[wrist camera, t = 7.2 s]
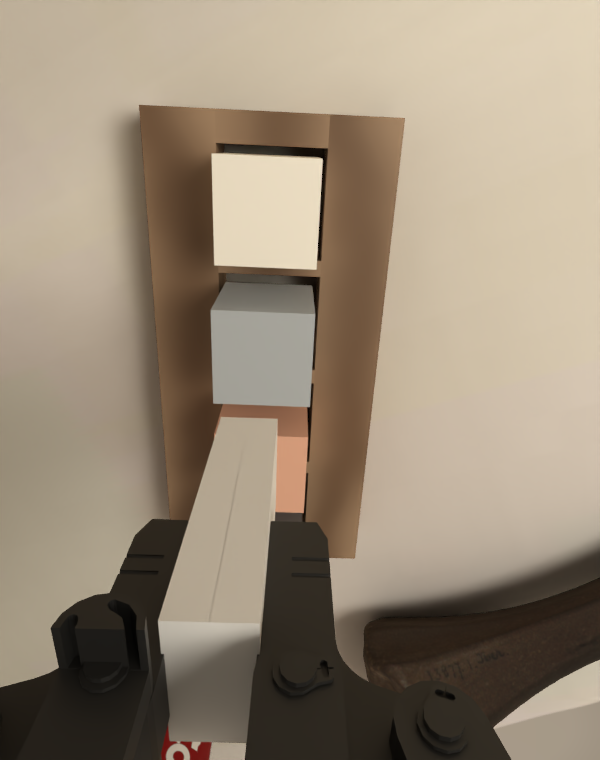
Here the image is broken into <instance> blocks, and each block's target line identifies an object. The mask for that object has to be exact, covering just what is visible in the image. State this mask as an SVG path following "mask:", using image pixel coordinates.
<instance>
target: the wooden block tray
mask: <svg viewBox="0 0 600 760" xmlns="http://www.w3.org/2000/svg"><path fill="white" fill-rule="evenodd" d="M139 111H140V124H141V137H142V151H143V164H144V178H145V191H146V205H147V218H148V231H149V245H150V258H151V272H152V285H153V298H154V312H155V325H156V339H157V352H158V365H159V379H160V392H161V406H162V419H163V432H164V446H165V459H166V473H167V486H168V499H169V513H170V520H189V519H190V516H191V512H192V509H193V506H194V503H195V499H196V496H197V493H198V490H199V487H200V483H201V480H202V477H203V474H204V470H205V467H206V464H207V461H208V457H209V454H210V451H211V448H212V445H213V441H214V433H215V429H216V426H217V423H218V419H219V416H220V412H221V409H222V405H223V404H213V377H212V342H211V308H212V306H213V305H214V303H215V301H216V299H217V297H218V295H219V294H220V292H221V290H222V288H223V286H224V284H225V282H226V273H240V274H263V275H287V276H310V277H317V294H316V311H315V328H314V346H313V362H312V380H311V397H310V414H309V431H308V448H307V465H306V482H305V500H304V513H302V522H317V523H318V525H319V526H320V528H321V529H322V531H323V532H324V534H325V535H326V537H327V538H328V549H329V558H355V551H356V543H357V534H358V525H359V516H360V508H361V499H362V490H363V481H364V473H365V464H366V455H367V446H368V437H369V429H370V420H371V411H372V402H373V394H374V385H375V376H376V367H377V359H378V350H379V341H380V332H381V324H382V315H383V306H384V297H385V288H386V280H387V271H388V262H389V253H390V245H391V236H392V227H393V218H394V210H395V201H396V192H397V183H398V175H399V166H400V157H401V148H402V139H403V131H404V122H405V118H390V117H370V116H350V115H330V114H310V113H290V112H270V111H249V110H229V109H209V108H189V107H169V106H149V105H139ZM224 144H242V145H263V146H284V147H304V148H325V157H324V174H323V191H322V209H321V226H320V243H319V250H318V252H317V269H316V270H309V269H286V268H263V267H240V266H217V265H214V236H213V195H212V153H224Z"/></svg>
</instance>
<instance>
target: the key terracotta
mask: <svg viewBox="0 0 600 760" xmlns="http://www.w3.org/2000/svg"><path fill="white" fill-rule="evenodd" d="M221 417H237V418H269V419H278V425H277V473H276V509H275V512H290V513H304V499H305V482H306V465H307V448H308V420H307V407H292V406H266V405H239V404H223V405H222V409H221V412H220V416H219V419H218V423H217V426H216V429H215V433H214V438H215V435H216V432H217V428H218V425H219V422H220V419H221Z"/></svg>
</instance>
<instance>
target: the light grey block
mask: <svg viewBox="0 0 600 760" xmlns="http://www.w3.org/2000/svg"><path fill="white" fill-rule="evenodd" d="M314 328H315V307H314V297H313V288H312V285H288V284H265V283H241V282H225V284H224V286H223V288H222V290H221V292H220V294H219V295H218V297H217V299H216V301H215V303H214V305H213V306H212V308H211V342H212V377H213V404H239V405H266V406H292V407H310V397H311V380H312V362H313V345H314Z"/></svg>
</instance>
